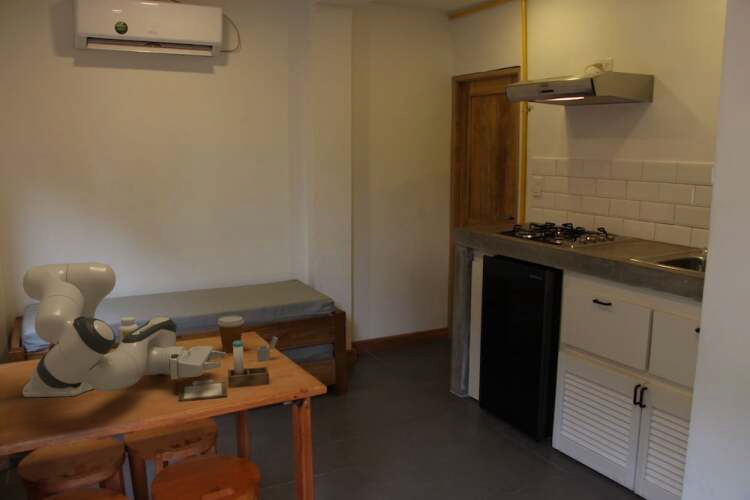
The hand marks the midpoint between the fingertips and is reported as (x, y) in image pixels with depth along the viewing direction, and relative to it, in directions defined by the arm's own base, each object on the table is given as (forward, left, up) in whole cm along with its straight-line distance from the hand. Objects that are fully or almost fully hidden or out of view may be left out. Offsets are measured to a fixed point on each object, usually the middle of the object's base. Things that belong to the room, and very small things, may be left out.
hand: (222, 359), depth 201 cm
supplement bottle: (-32, +40, -8) cm, 52 cm away
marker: (+5, -1, -8) cm, 9 cm away
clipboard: (-6, -6, -8) cm, 12 cm away
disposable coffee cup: (+4, +34, -8) cm, 35 cm away
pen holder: (+8, -1, -8) cm, 11 cm away
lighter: (+16, +20, -8) cm, 26 cm away
